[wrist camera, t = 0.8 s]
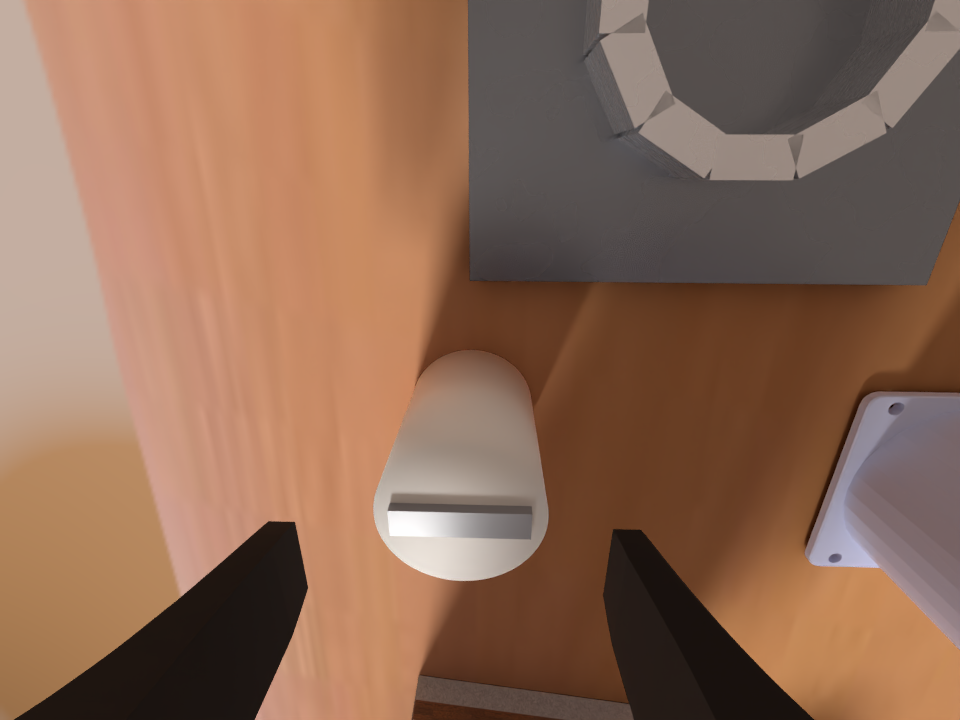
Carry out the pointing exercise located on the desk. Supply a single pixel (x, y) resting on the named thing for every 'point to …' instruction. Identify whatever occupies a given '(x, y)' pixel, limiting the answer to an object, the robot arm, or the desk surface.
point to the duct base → (712, 140)
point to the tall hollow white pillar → (505, 703)
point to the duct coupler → (465, 472)
